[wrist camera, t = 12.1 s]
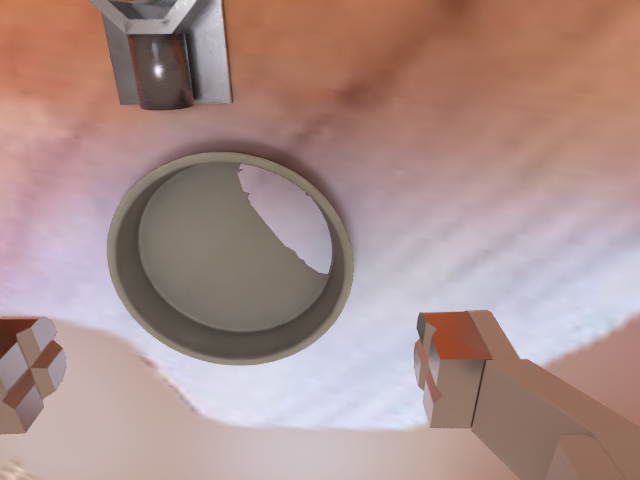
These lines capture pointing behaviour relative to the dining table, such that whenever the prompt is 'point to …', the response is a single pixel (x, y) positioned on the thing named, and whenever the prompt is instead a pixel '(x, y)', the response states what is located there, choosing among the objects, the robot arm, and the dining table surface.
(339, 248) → the cake pan
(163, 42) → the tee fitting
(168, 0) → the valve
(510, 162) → the dining table surface
